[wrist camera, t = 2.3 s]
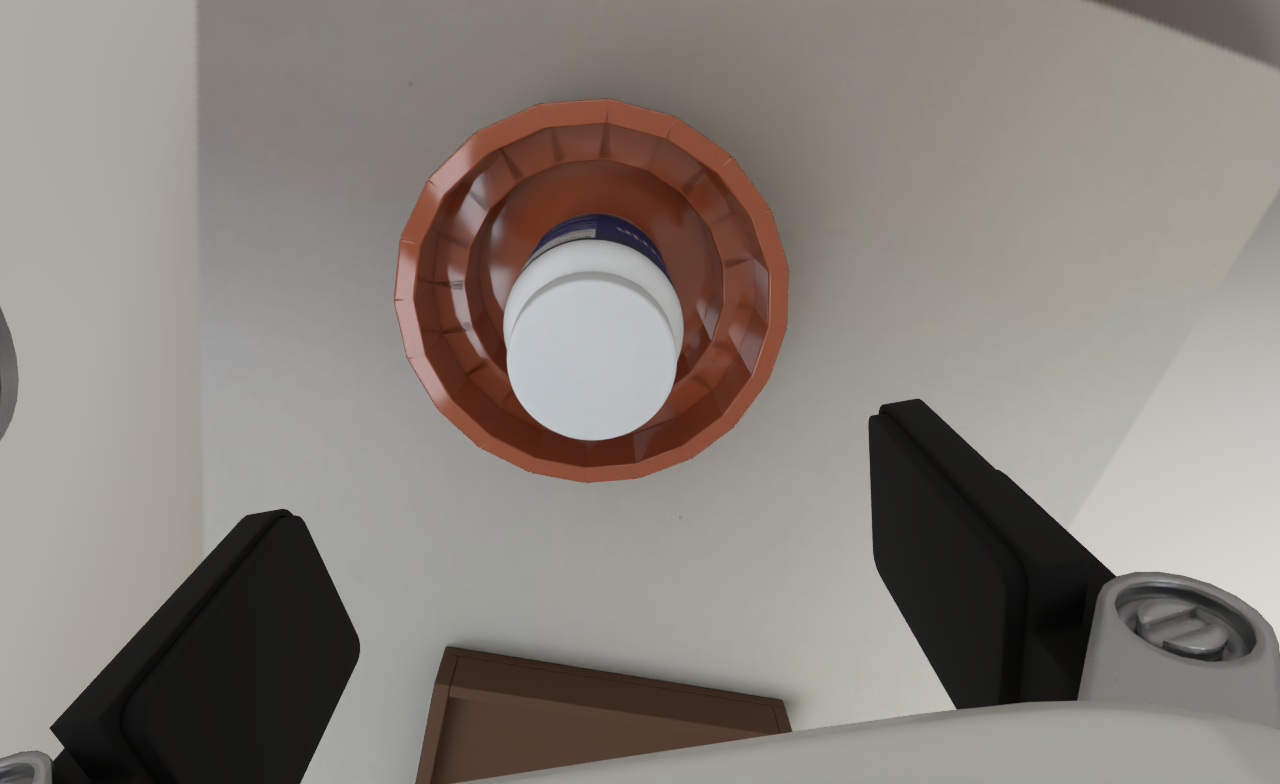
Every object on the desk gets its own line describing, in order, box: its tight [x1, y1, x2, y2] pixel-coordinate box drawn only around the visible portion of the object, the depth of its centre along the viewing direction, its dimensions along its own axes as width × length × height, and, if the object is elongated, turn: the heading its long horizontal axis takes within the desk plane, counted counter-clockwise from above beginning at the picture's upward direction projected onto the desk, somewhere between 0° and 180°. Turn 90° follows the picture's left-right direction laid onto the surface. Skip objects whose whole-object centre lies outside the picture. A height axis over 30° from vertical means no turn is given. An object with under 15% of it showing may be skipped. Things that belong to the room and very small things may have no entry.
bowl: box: [394, 98, 789, 483], centre depth 25 cm, size 13×13×6 cm
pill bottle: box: [503, 212, 684, 440], centre depth 22 cm, size 6×6×10 cm
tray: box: [415, 647, 792, 784], centre depth 38 cm, size 20×15×2 cm
